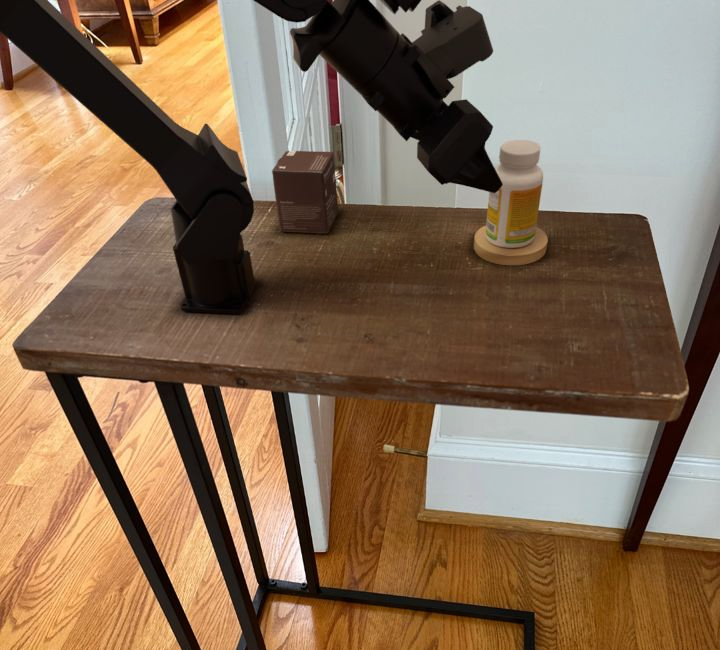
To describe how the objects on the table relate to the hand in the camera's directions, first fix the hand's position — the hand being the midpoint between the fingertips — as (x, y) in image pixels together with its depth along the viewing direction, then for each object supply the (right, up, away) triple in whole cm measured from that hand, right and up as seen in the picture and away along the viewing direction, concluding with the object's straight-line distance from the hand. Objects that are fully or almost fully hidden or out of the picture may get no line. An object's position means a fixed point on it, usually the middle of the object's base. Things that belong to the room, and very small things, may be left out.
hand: (481, 170), depth 70 cm
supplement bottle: (+4, -5, +6) cm, 9 cm away
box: (-19, 0, +14) cm, 23 cm away
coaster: (+4, -5, +7) cm, 10 cm away
